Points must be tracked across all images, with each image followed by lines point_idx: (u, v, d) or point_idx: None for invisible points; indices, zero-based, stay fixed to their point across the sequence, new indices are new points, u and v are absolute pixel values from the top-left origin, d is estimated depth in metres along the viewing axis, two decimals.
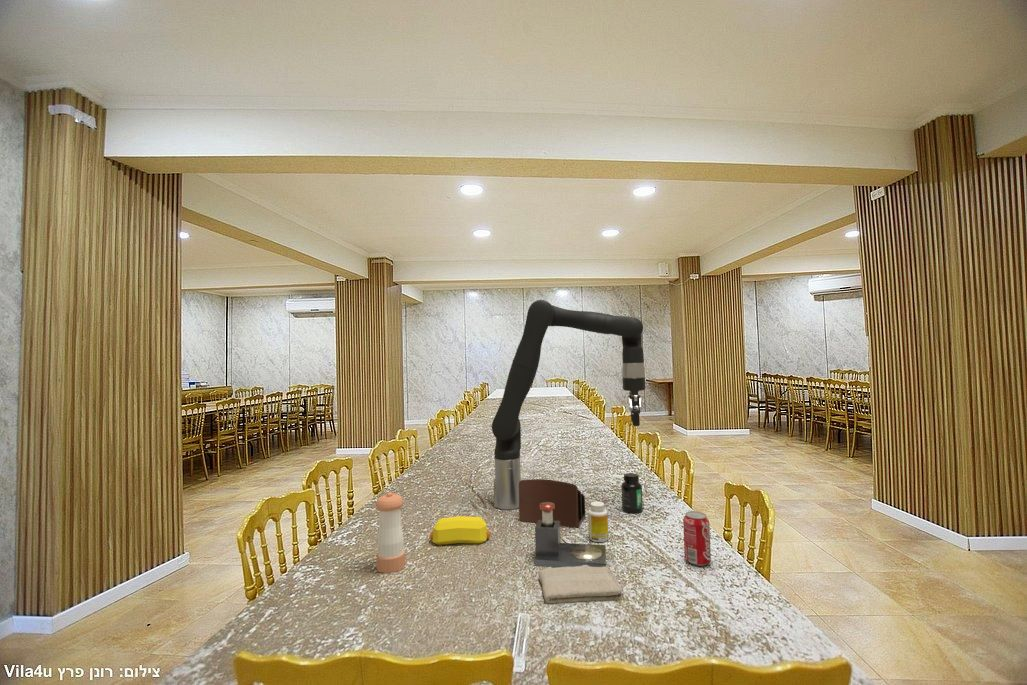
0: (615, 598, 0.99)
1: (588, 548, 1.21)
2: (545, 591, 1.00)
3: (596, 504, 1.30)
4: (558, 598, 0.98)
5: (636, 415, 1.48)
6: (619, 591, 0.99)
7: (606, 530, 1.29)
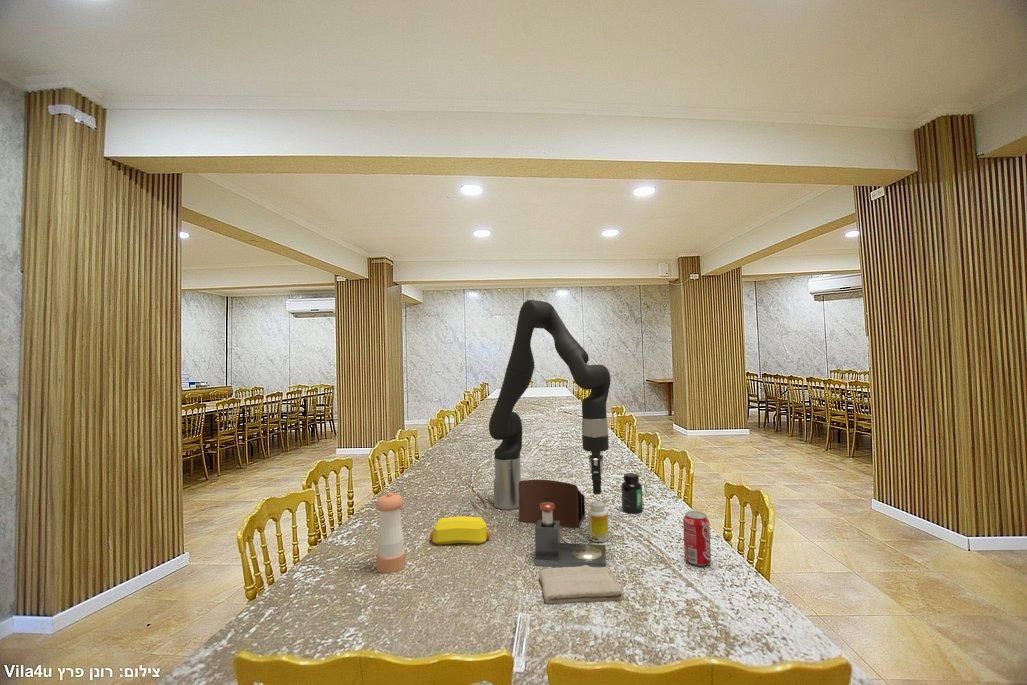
0: (615, 598, 0.99)
1: (588, 548, 1.21)
2: (545, 591, 1.00)
3: (596, 504, 1.30)
4: (558, 598, 0.98)
5: (597, 481, 1.26)
6: (619, 591, 0.99)
7: (606, 530, 1.29)
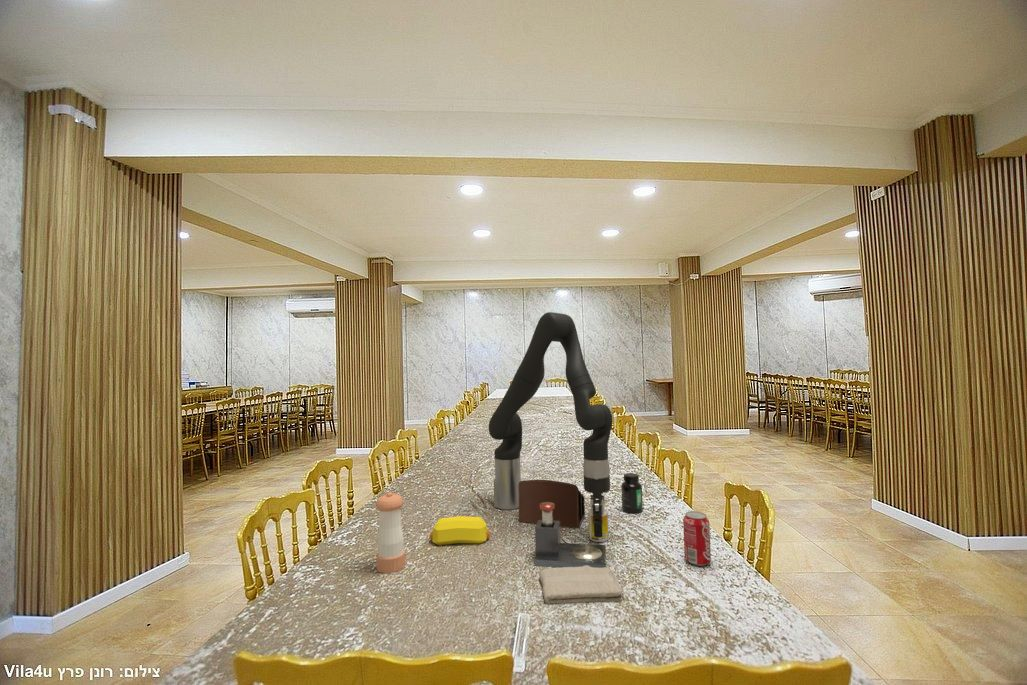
0: (615, 599, 0.98)
1: (588, 548, 1.21)
2: (545, 592, 1.00)
3: None
4: (558, 598, 0.98)
5: (598, 525, 1.27)
6: (619, 592, 0.98)
7: (606, 530, 1.29)
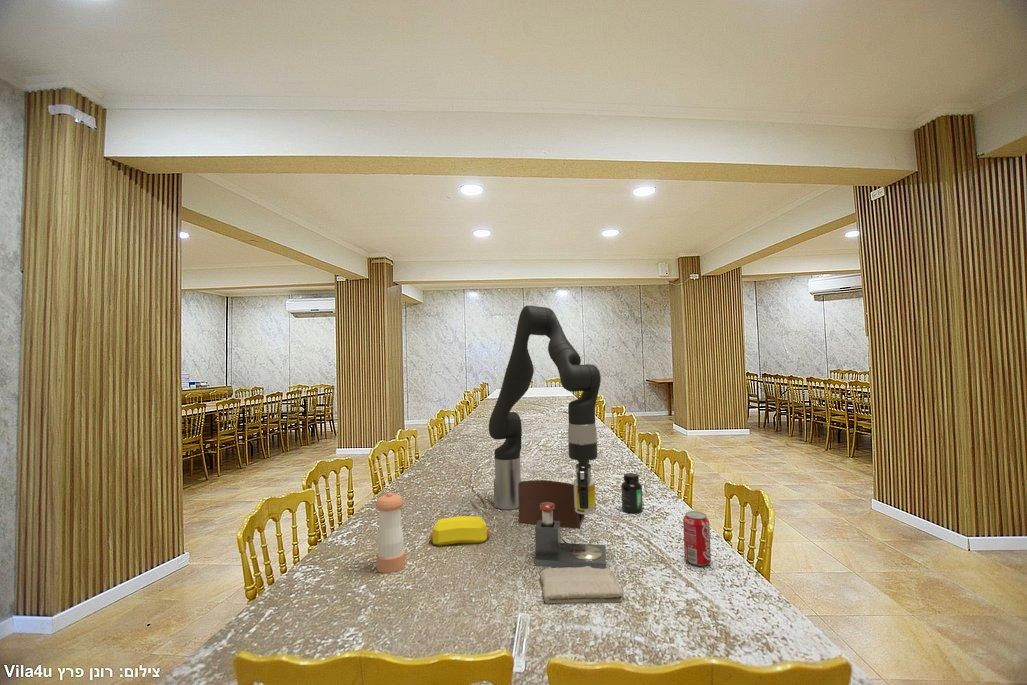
0: (615, 600, 0.98)
1: (588, 548, 1.21)
2: (545, 591, 1.00)
3: None
4: (557, 598, 0.98)
5: (584, 495, 1.15)
6: (619, 593, 0.98)
7: (593, 501, 1.17)
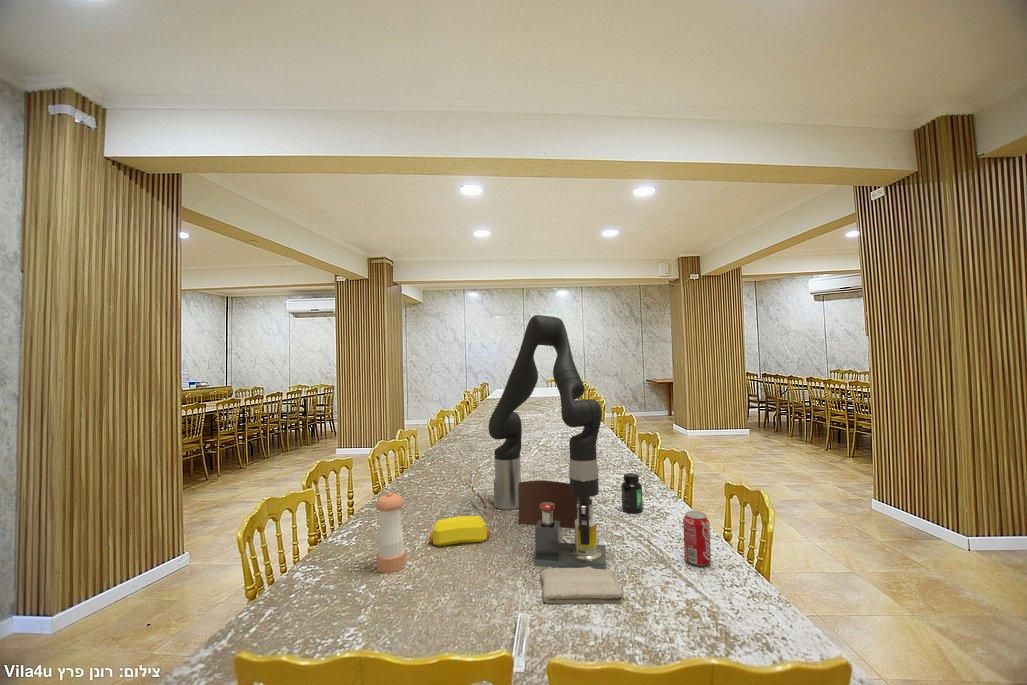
0: (615, 601, 0.97)
1: None
2: (545, 591, 1.00)
3: None
4: (557, 599, 0.98)
5: (585, 531, 1.13)
6: (619, 594, 0.97)
7: (594, 542, 1.17)
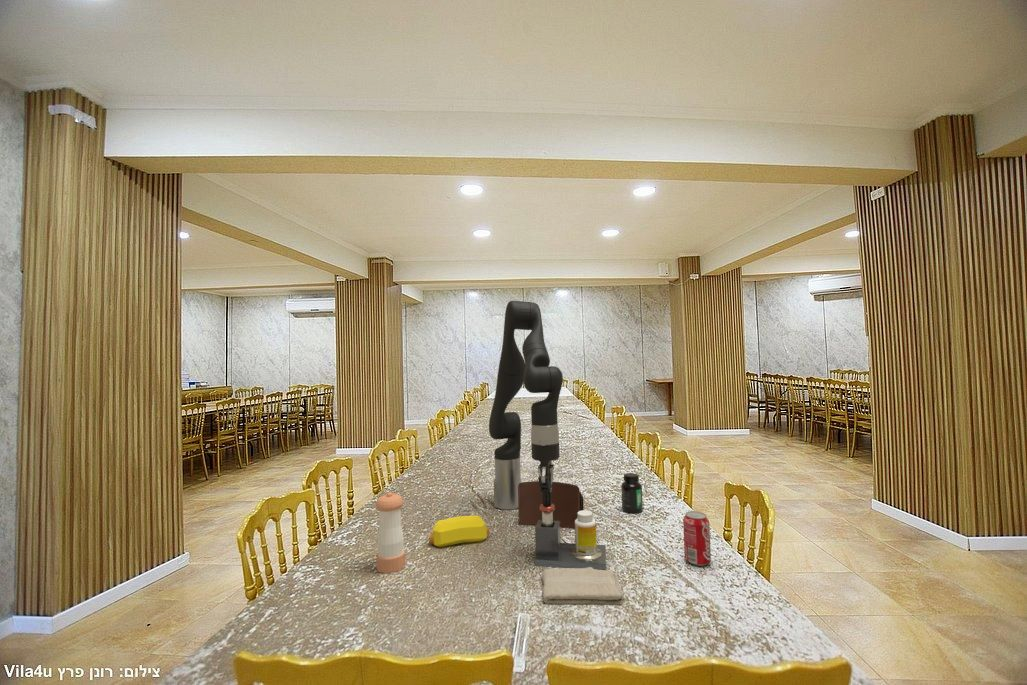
0: (615, 603, 0.97)
1: None
2: (544, 591, 1.00)
3: (583, 513, 1.18)
4: (556, 599, 0.98)
5: (546, 493, 1.19)
6: (619, 596, 0.97)
7: (594, 542, 1.17)
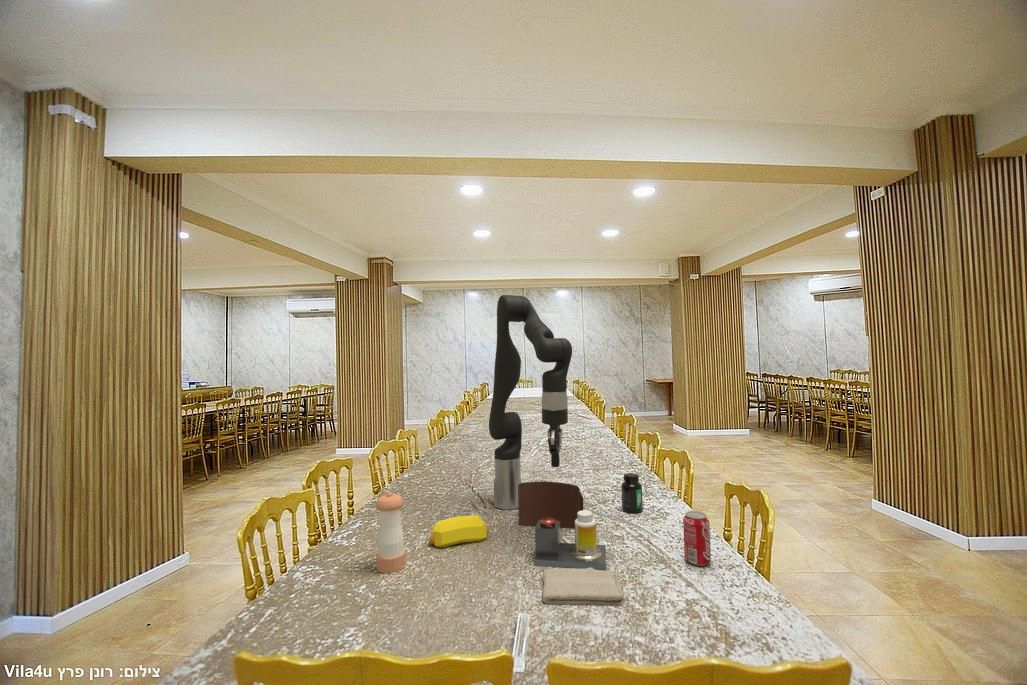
0: (615, 603, 0.97)
1: None
2: (544, 591, 1.00)
3: (583, 513, 1.18)
4: (556, 599, 0.98)
5: (555, 455, 1.29)
6: (619, 597, 0.97)
7: (594, 542, 1.17)
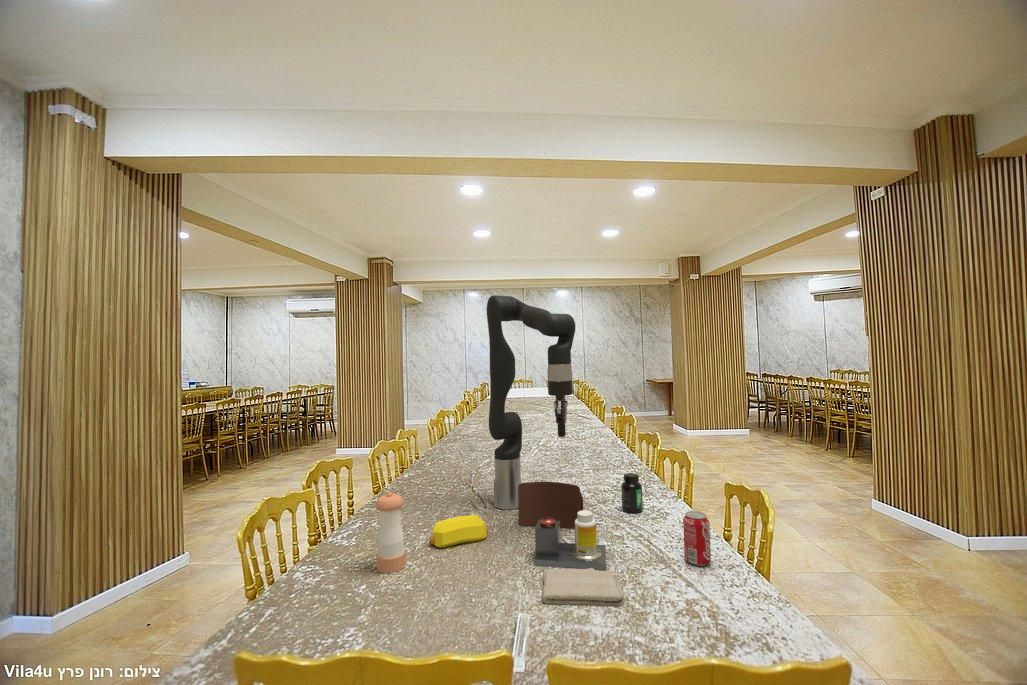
0: (615, 604, 0.96)
1: None
2: (544, 591, 1.00)
3: (583, 513, 1.18)
4: (556, 599, 0.98)
5: (561, 425, 1.35)
6: (619, 597, 0.96)
7: (594, 542, 1.17)
